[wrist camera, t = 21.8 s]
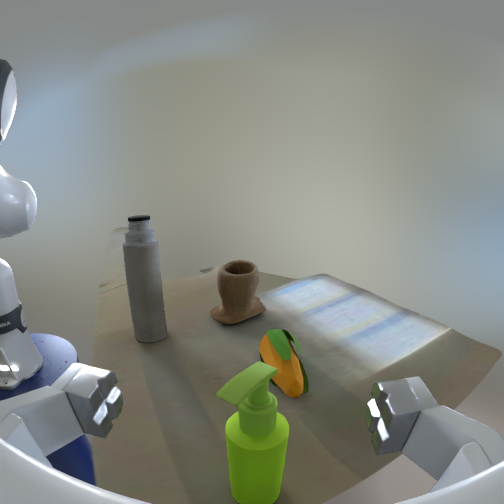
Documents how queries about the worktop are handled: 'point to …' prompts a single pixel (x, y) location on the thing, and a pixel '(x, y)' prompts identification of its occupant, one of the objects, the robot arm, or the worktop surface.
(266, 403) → the soap dispenser
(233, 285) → the stone cup
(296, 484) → the worktop surface
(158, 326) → the thermos bottle
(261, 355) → the corn
